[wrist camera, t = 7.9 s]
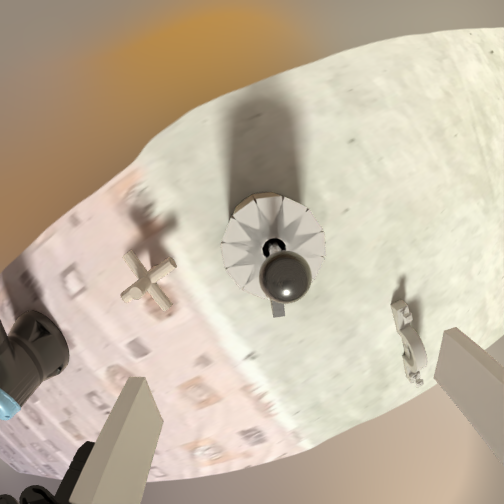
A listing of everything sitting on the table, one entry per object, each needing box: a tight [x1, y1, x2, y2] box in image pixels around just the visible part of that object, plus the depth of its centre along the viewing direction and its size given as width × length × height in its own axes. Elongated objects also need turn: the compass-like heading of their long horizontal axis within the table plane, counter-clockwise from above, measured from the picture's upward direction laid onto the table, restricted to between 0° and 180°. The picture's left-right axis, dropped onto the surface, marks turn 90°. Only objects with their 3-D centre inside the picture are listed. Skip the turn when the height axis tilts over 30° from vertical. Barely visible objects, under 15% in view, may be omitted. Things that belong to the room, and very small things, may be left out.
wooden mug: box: [221, 192, 326, 317], centre depth 38 cm, size 11×14×14 cm
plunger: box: [259, 238, 312, 304], centre depth 31 cm, size 8×8×22 cm
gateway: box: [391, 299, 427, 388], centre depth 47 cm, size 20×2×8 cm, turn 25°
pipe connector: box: [121, 250, 177, 311], centre depth 41 cm, size 10×10×10 cm
